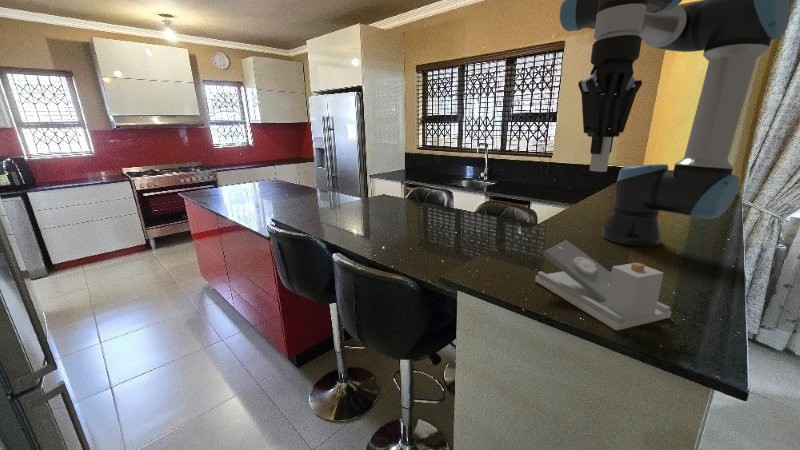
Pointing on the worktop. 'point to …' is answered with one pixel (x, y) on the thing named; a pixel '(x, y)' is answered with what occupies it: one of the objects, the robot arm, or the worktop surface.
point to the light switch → (580, 268)
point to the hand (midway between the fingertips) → (597, 170)
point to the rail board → (615, 295)
